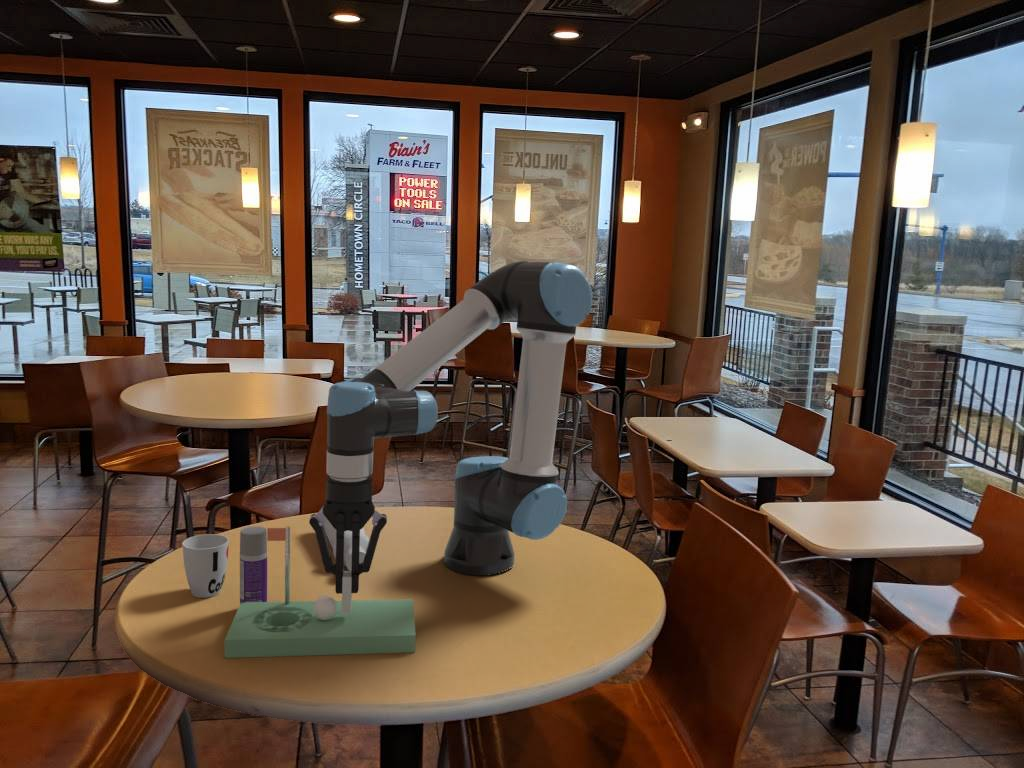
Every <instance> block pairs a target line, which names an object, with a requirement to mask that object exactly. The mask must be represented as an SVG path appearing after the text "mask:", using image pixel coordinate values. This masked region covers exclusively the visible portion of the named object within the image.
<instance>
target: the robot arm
mask: <svg viewBox="0 0 1024 768" xmlns="http://www.w3.org/2000/svg"><path fill="white" fill-rule="evenodd" d="M592 292H593V291H592V287H591V284H590V282H589V279H588V278H587V277H586V275H585V273H584V272H583V271H582V270H581V269H579V268H578V267H577V266H575V265H573V264H568V263H562V262H553V261H551V262H550V261H549V262H543V261H542V262H541V261H515V262H510V263H508V264H506V265H503V266H501V267H498V268H497V269H496V270H494V271H493V272H491V273H489V274H488V275H486V276H484V277H483V278H481V279H480V280H478V282H476V283H475V284H474V285H472V286H471V287H470V288H468V289H467V290H466V291H465V292H464V295H463V299H462V300H460V302H458V303H457V304H456V305H455V306H453V307H452V308H451V309H449V310H448V311H447V312H445V313H444V314H443V315H442V316H440V317H439V318H438V319H437V320H435V321H434V322H432V323H431V324H430V325H429V326H428V327H426V328H425V329H424V330H423V331H421V332H420V333H419V334H417V335H416V336H415V337H413V338H412V339H411V340H410V341H407V343H405V345H403V346H402V347H401V348H399V349H398V350H397V351H396V352H394V353H393V354H391V355H390V356H389V357H388V358H386V359H384V361H383V362H382V363H380V364H378V366H376V367H375V368H374V369H372V370H371V371H369V372H368V373H367V374H366V375H364V376H362V378H361V377H356V378H355V377H354V378H353V377H352V378H348V379H346V380H344V381H340V382H336V383H333V384H332V385H331V386H330V387H329V390H328V397H327V405H326V406H327V407H326V415H327V416H326V417H327V421H326V422H327V428H326V431H327V434H326V435H327V437H326V438H327V439H326V441H327V442H326V444H327V446H326V469H325V470H326V474H327V475H328V476H327V478H326V481H325V503H324V504H323V505H322V507H323V510H322V511H321V512H319V511H318V512H317V513H313V514H311V515H310V518H309V521H308V523H309V525H310V526H311V528H312V529H313V531H314V532H315V536H316V540H317V544H318V548H319V551H320V552H319V553H320V557H321V561H322V565H323V568H324V572H325V573H327V574H333V575H334V576H335V594H341V601H342V614H351V600H352V598H353V594H358V592H359V587H360V583H359V582H360V581H359V580H360V575H361V574H363V573H368V572H369V571H370V569H371V566H372V564H373V563H372V562H373V559H374V556H375V552H376V548H377V545H378V542H379V538H380V534H381V532H382V531H383V529H384V528H385V526H386V525H387V523H388V518H387V517H388V516H387V515H386V513H380V512H378V511H377V510H375V509H376V507H375V504H374V503H373V477H372V476H371V475H372V474H373V472H374V471H373V468H374V467H373V466H374V441H375V439H382V438H392V437H401V436H412V435H413V436H416V435H419V434H424V433H428V432H430V431H432V430H433V429H434V428H435V426H436V425H437V422H438V411H439V409H438V408H439V407H438V403H437V400H436V399H435V397H434V395H433V394H432V393H431V392H429V391H427V390H416V389H415V388H416V387H417V386H418V385H420V384H421V383H422V382H423V381H425V380H426V379H427V378H428V377H429V376H431V375H432V374H433V373H434V372H436V371H437V370H438V369H439V368H441V367H442V366H443V365H444V364H445V363H447V362H448V361H449V360H450V359H451V358H453V357H454V356H456V354H458V353H459V352H460V351H462V349H464V348H465V347H466V346H468V345H469V344H470V343H471V342H473V341H474V340H475V339H476V338H478V337H479V336H480V335H482V333H484V332H485V331H486V330H495V329H496V328H498V327H499V326H500V325H501V324H504V323H505V322H507V321H511V320H516V321H517V322H516V330H517V331H518V333H519V335H521V337H522V345H521V354H520V363H519V372H518V379H517V388H516V398H515V404H514V407H515V408H514V414H513V415H514V416H513V423H512V432H511V433H512V434H511V440H510V450H509V456H508V457H505V456H499V455H498V456H497V455H489V456H488V455H487V456H486V455H485V456H473V457H466V458H464V459H461V460H459V462H458V463H456V464H457V465H456V468H455V475H454V502H453V503H454V505H453V507H454V508H453V509H454V510H453V527H452V530H451V533H450V536H449V538H448V540H447V543H446V546H445V548H444V553H443V554H444V556H443V559H444V560H443V563H444V565H445V566H446V567H447V568H449V569H451V570H452V571H454V572H456V573H461V574H466V575H471V576H489V575H488V574H494V575H496V574H495V573H499V572H502V571H505V570H507V569H509V568H510V567H512V566H513V564H514V565H515V555H516V554H515V551H514V547H513V543H512V539H511V536H510V533H509V532H511V533H513V534H514V535H516V536H517V537H521V538H526V539H529V540H535V541H538V540H541V539H545V538H547V537H548V536H550V535H552V534H553V533H554V532H555V530H556V529H557V528H559V526H560V525H561V523H562V522H563V519H564V518H565V515H566V513H567V509H568V508H567V507H568V499H567V498H568V497H567V495H566V493H565V490H564V489H563V488H562V487H560V485H558V480H559V470H558V468H557V467H556V466H555V465H554V463H553V458H554V450H555V441H556V433H557V425H558V416H559V410H560V409H559V407H560V400H561V391H562V383H563V376H564V367H565V358H566V351H567V344H568V342H569V341H570V340H572V339H573V338H574V337H575V336H576V333H577V326H579V325H580V324H583V322H585V320H586V319H587V318H586V317H588V316H589V315H590V312H591V309H592V305H593V293H592ZM325 517H326V518H327V519H328V521H329V522H330V523H331V525H332V526H333V527H334V528H335V529H336V559H335V562H333V559H332V554H331V550H330V545H329V543H328V541H329V540H328V537H327V535H326V533H325V529H324V523H325V519H324V518H325ZM370 519H372V520H371V521H372V522H371V524H372V525H373V526H372V529H371V533H370V536H369V543H368V547H367V550H366V554H365V557H364V561H363V563H360V564H359V552H360V530H361V529H362V528H364V527H365V526H366V524H367V523H368V522H369V520H370ZM345 531H352V570H351V571H349V570H344V533H345ZM513 567H514V566H513ZM513 567H512V568H513ZM499 574H500V573H499Z"/></svg>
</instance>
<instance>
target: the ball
mask: <svg viewBox="0 0 1024 768" xmlns="http://www.w3.org/2000/svg"><path fill="white" fill-rule="evenodd" d="M314 601H315V602H314V605H313V612H314V615H315V616H316V617H317V618H318V619H320V620H328V619H330V618H332V617H333V616H334V615H335V613H336V611H337V603H336V601H337V600H336V599H334V597H332V596H331V595H322V596H320V597H318V598H317V599H316V600H314Z"/></svg>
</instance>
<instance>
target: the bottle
mask: <svg viewBox="0 0 1024 768" xmlns="http://www.w3.org/2000/svg"><path fill="white" fill-rule="evenodd" d="M322 510H323V506H322V507H321V508H320V510H318V513H319V512H321V511H322ZM324 519H325V523H324V529H325V533H326V537H327V540H328V541H329V543H330V545H331V547H332V555H333V557H334V559H335V560H336V529H335V528H334V527H333V526H332V525H331V523H330V522H329V521H328V519H327V518H326V517H325V518H324ZM369 540H370V537H368V536H367V534H366V531H365V528H364V527H363V528H362V529H361V530H360V552H359V564H360V563H363V561H364V557H365V554H366V550H367V547H368V543H369ZM344 566H345V567H346V568H347V571H351V570H352V531H345V533H344Z"/></svg>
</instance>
